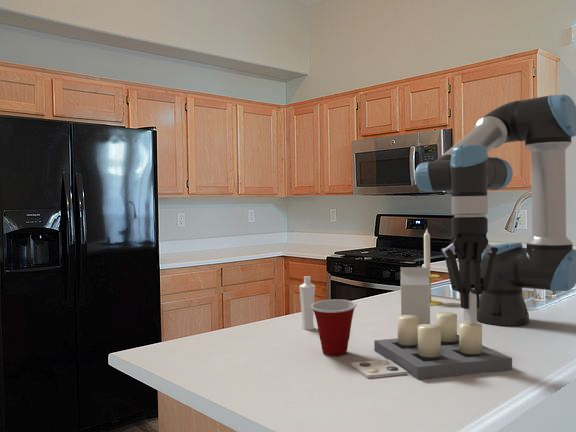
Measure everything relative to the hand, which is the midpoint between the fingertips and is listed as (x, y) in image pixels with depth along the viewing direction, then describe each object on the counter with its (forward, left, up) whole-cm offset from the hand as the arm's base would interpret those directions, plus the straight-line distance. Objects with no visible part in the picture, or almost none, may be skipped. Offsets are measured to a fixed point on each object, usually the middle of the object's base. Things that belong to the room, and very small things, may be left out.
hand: (470, 323), depth 115 cm
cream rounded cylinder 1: (0, -10, -6) cm, 12 cm away
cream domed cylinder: (+10, 0, -6) cm, 12 cm away
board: (+5, -5, -9) cm, 12 cm away
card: (+21, -2, -9) cm, 23 cm away
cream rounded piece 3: (+10, -10, -6) cm, 15 cm away
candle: (-26, -67, -9) cm, 73 cm away
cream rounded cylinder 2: (0, 0, -6) cm, 6 cm away
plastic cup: (+26, -17, -9) cm, 32 cm away
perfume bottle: (+25, -43, -9) cm, 51 cm away
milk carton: (+2, -22, -9) cm, 24 cm away
